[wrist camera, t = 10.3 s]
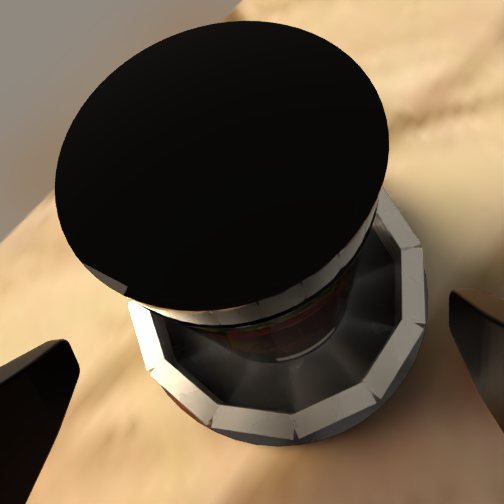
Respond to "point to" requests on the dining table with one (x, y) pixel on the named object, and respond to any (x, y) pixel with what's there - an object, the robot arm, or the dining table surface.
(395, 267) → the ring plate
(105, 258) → the supplement container
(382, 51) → the dining table surface
